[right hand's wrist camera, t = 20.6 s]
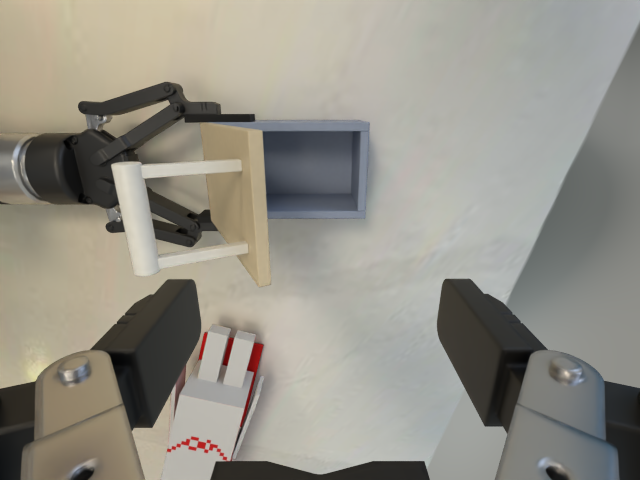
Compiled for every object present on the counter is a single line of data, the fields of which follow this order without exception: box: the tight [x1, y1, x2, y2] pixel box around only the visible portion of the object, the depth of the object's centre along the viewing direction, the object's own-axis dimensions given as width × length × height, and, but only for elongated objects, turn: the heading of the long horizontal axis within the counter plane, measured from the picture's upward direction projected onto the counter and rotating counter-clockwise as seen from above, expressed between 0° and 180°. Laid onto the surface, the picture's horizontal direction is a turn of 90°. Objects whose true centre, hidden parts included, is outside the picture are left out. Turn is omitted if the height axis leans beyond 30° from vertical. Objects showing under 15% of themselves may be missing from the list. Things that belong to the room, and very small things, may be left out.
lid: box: [111, 123, 271, 287], centre depth 26 cm, size 16×10×8 cm
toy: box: [161, 324, 264, 480], centre depth 52 cm, size 12×13×30 cm
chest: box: [207, 120, 369, 219], centre depth 39 cm, size 16×10×9 cm, turn 90°
